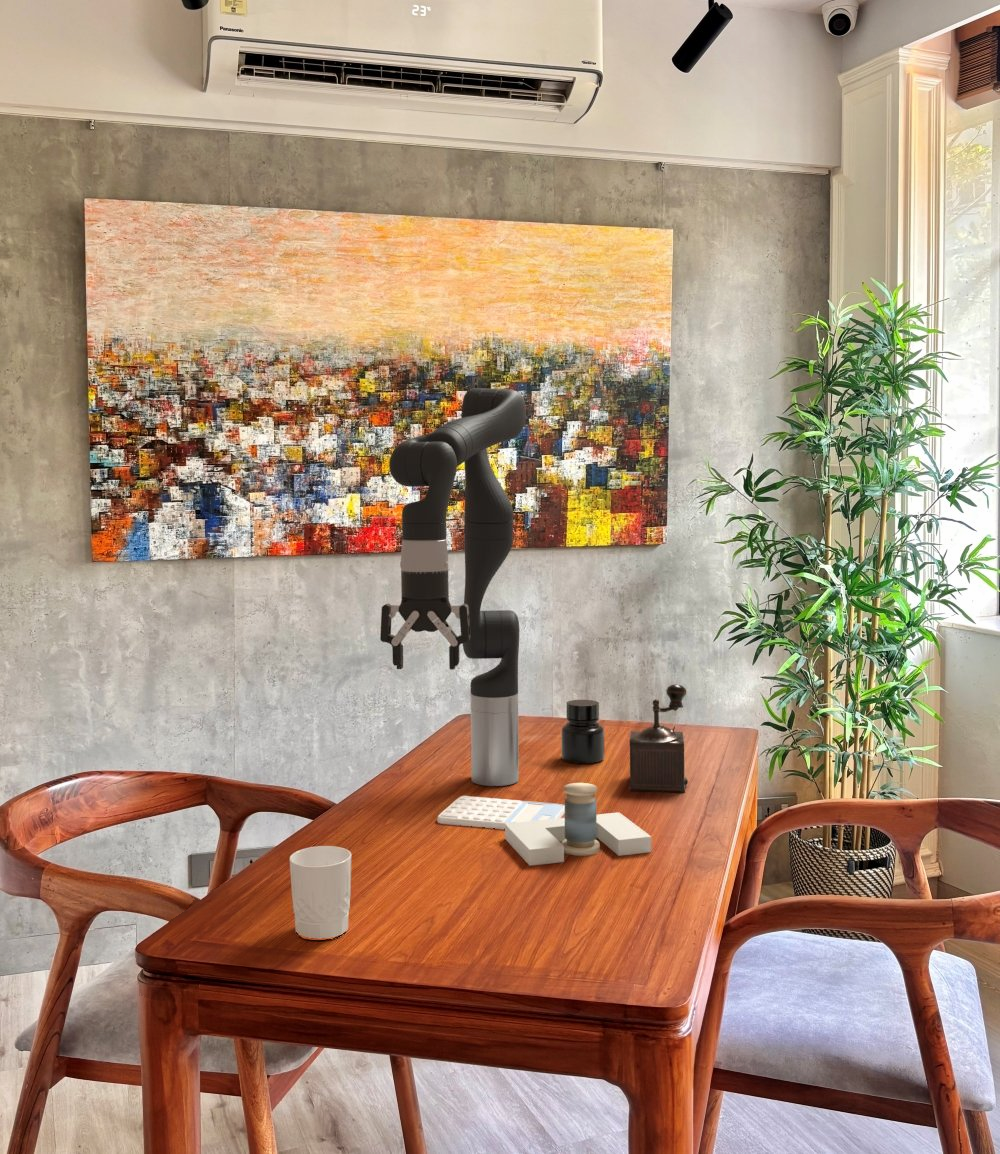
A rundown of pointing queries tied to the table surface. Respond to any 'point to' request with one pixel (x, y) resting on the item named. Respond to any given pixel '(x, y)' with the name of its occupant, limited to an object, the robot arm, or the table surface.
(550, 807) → the calculator
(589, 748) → the ink bottle
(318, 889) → the white cup
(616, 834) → the notched board
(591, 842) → the disc
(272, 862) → the table surface
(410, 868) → the table surface
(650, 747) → the manual coffee grinder
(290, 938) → the table surface
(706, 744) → the table surface
